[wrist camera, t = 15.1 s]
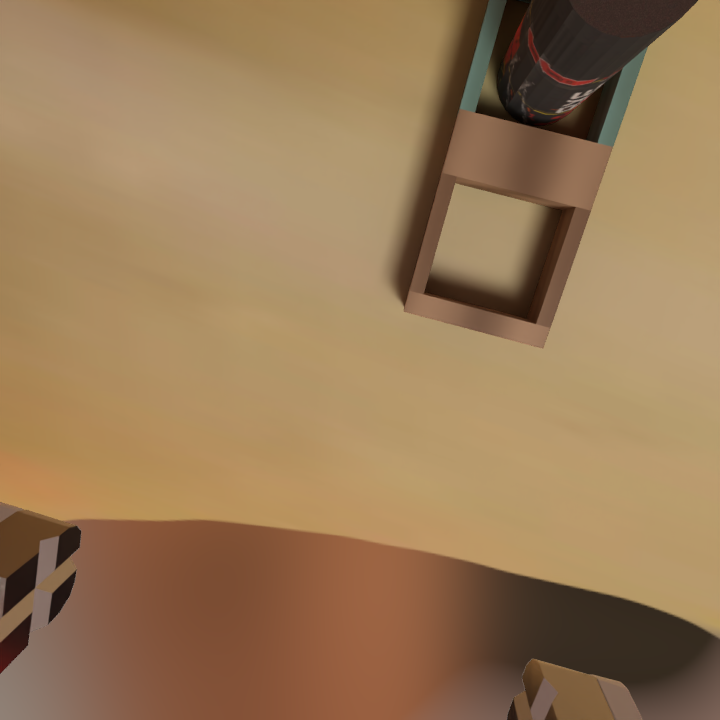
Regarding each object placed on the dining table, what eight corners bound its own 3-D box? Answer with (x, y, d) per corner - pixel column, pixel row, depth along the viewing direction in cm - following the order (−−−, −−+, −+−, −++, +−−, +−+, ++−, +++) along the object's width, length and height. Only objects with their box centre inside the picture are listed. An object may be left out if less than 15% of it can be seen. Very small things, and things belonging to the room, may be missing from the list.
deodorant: (529, 144, 35) (614, 70, 21) (479, 72, 35) (530, -56, 20) (604, 85, 34) (750, -38, 20) (554, 9, 34) (665, -176, 19)
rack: (404, 306, 39) (403, 311, 36) (497, -32, 33) (505, -59, 30) (532, 341, 38) (543, 348, 35) (647, 4, 33) (670, -20, 30)
